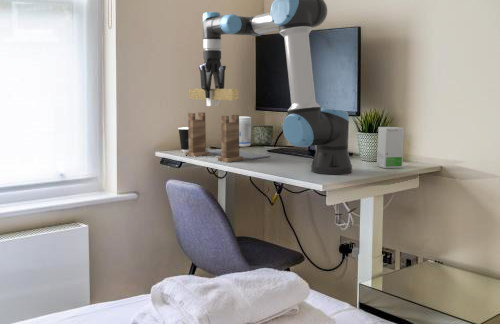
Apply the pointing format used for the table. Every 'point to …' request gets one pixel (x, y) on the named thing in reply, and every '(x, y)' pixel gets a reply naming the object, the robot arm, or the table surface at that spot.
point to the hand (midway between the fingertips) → (213, 105)
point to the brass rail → (214, 94)
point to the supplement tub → (244, 131)
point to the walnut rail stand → (227, 137)
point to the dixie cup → (184, 139)
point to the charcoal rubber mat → (241, 154)
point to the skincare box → (390, 147)
